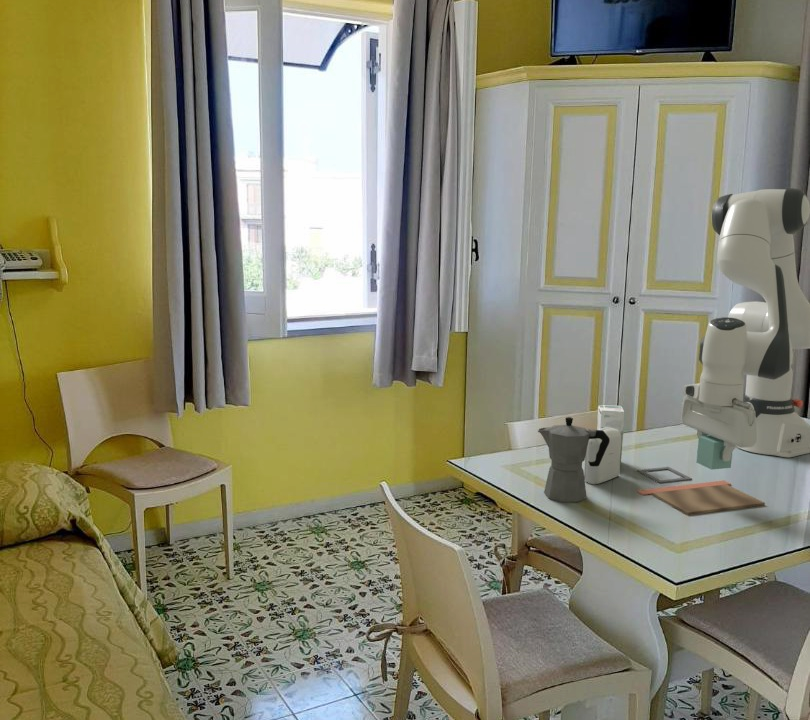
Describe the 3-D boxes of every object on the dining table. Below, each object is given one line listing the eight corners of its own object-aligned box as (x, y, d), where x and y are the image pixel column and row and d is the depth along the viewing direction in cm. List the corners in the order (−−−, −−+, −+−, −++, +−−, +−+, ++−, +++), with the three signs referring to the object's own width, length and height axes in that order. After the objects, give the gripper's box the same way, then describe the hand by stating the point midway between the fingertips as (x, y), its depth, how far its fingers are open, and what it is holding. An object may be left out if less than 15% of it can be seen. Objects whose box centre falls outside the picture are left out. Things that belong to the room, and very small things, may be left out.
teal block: (715, 460, 178) (717, 434, 177) (730, 467, 173) (733, 441, 172) (696, 462, 176) (698, 436, 175) (711, 469, 172) (714, 442, 170)
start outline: (668, 467, 198) (668, 466, 198) (691, 479, 189) (692, 478, 189) (637, 471, 195) (637, 470, 195) (659, 483, 186) (659, 482, 186)
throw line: (724, 481, 188) (724, 480, 188) (731, 485, 186) (731, 483, 186) (636, 491, 181) (636, 490, 181) (642, 495, 179) (642, 494, 178)
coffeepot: (533, 499, 175) (536, 420, 171) (537, 485, 184) (540, 409, 180) (605, 507, 171) (610, 426, 168) (606, 492, 180) (611, 415, 177)
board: (726, 487, 185) (726, 484, 185) (764, 505, 173) (764, 502, 173) (652, 495, 178) (652, 493, 178) (687, 515, 167) (687, 512, 167)
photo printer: (596, 486, 184) (599, 434, 182) (581, 481, 187) (583, 430, 185) (621, 476, 191) (625, 426, 188) (606, 472, 194) (609, 423, 192)
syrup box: (617, 460, 203) (621, 404, 201) (621, 467, 198) (625, 410, 195) (594, 459, 204) (597, 403, 201) (597, 466, 198) (601, 409, 195)
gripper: (767, 404, 163) (760, 469, 166) (702, 383, 182) (696, 441, 185) (742, 406, 161) (735, 471, 164) (678, 384, 180) (673, 443, 183)
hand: (714, 455), depth 174 cm, fingers closed on teal block, 5 cm apart
